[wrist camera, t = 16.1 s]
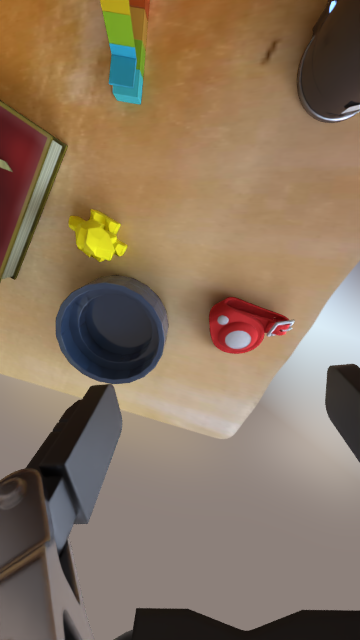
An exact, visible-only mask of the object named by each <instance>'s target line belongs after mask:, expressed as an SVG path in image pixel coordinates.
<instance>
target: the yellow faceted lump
mask: <svg viewBox="0 0 360 640" xmlns="http://www.w3.org/2000/svg"><path fill="white" fill-rule="evenodd" d="M90 211H91V216H90V218H89V220H88V221H85V220H84V219H82V218H80V217H79V216H70V218H69V221H68V223H69V227H70V228H71V229H72V230H74V231H75V234H76V244H77V246H78V249H79V250H81V251H83V252H84V253H85V254H86V255H87V256H88V257H90V256H92V257H93V258H95V259H96V260H98V261H99V262H101V261H104V260H108V261H111V259H112V256H113V254H115V255H117V256H119V257H120V256H122V255H124V252H125V250H126V248H127V246H128V245H126V244H125V243H123V242H121V241H119V240H118V239H117V235H116V234H117V232H118V230H119V227H120V225H121V224H120V223H118V222H116V221H115V220H113V219H111V218H110V217H108V216H106V215H105V214H103V213H101V212H100V211H98V210H93V209H90Z"/></svg>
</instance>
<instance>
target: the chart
mask: <svg viewBox="0 0 360 640" xmlns="http://www.w3.org/2000/svg"><path fill="white" fill-rule="evenodd" d="M100 2H101V7H102V12H103V16H104V21H105V26H106V31H107V35H108V40H109V45H110V49H111V54H112V55H111V65H110V76H109V84H110V85H113V94H114V96H115V98H116V99H117V101H123V102H129V103H134V104H140V105H141V98H142V86H143V75H144V63H145V51H146V40H147V28H148V16H149V4H150V0H100Z"/></svg>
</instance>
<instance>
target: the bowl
mask: <svg viewBox="0 0 360 640" xmlns="http://www.w3.org/2000/svg"><path fill="white" fill-rule="evenodd" d="M168 327H169V324H168V318H167V312H166V309H165V308H164V306H163V304H162V302H161V300H160V298H159V297H158V296H157V295H156V294H155V293H154V292H153V291H152V290H151V289H150V288H149V287H148V286H147V285H145V284H143V283H141V282H139V281H137V280H136V279H134V278H130V277H125V276H119V275H112V276H105V277H100V278H98V279H96V280H94V281H92V282H90V283H88V284H87V285H85V286H83V287H81V288H79V289H77V290H75V291H74V292H72V293H71V294H70V295H69V296H68V297H67V298H66V300H65V301H64V302H63V303H62V304H61V306H60V309H59V312H58V314H57V317H56V337H57V340H58V343H59V346H60V349H61V351H62V353H63V354H64V356H65V357H66V358H67V360H68V361H69V363H71V365H73V366H74V367H75V368H76V369H77V370H79V371H80V372H81V373H82V374H84V375H86V376H88V377H90V378H92V379H94V380H97V381H100V382H105V383H110V384H122V383H130V382H132V381H135V380H137V379H140V378H142V377H144V376H145V375H147V374H148V373H149V372H150V371H151V370H153V369H154V368H155V366H156V365H157V363H158V361H159V359H160V358H161V356H162V354H163V350H164V346H165V342H166V338H167V332H168Z"/></svg>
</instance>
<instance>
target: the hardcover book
mask: <svg viewBox="0 0 360 640" xmlns="http://www.w3.org/2000/svg"><path fill="white" fill-rule="evenodd" d="M67 147H68V146H67V145H65V144H64V143H62V142H61V141H59V140H58V139H56V138H55V137H54V136H52V135H51V134H49V133H48V132H46V131H45V130H43V129H42V128H40V127H39V126H37V125H36V124H34V123H33V122H32V121H30V120H29V119H27V118H26V117H24V116H23V115H21V114H20V113H18V112H17V111H15V110H14V109H12V108H11V107H10V106H8V105H7V104H5V103H4V102H2V101H1V100H0V282H1V279H5V278H8V277H10V278H12V279H14V280H15V279H16V278H17V275H18V273H19V270H20V268H21V265H22V262H23V260H24V257H25V255H26V252H27V250H28V247H29V244H30V242H31V239H32V237H33V234H34V232H35V229H36V227H37V224H38V221H39V219H40V216H41V214H42V211H43V209H44V206H45V203H46V201H47V198H48V196H49V193H50V191H51V188H52V185H53V183H54V180H55V178H56V175H57V173H58V170H59V168H60V165H61V162H62V160H63V157H64V155H65V152H66V150H67Z"/></svg>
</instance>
